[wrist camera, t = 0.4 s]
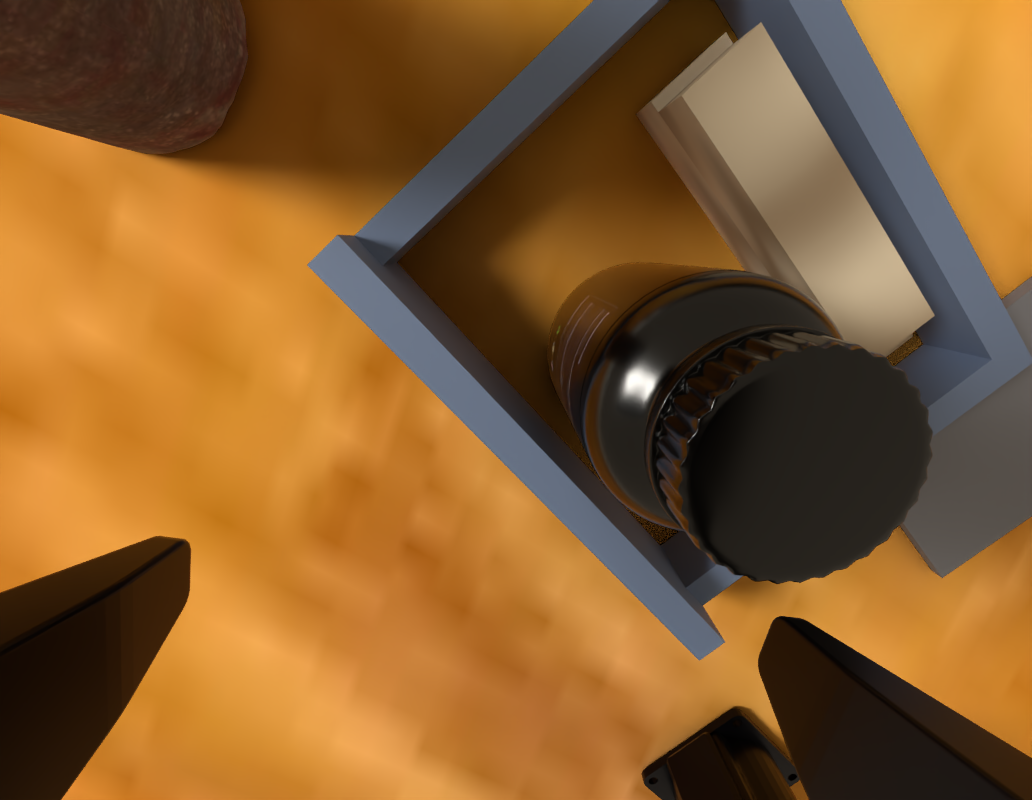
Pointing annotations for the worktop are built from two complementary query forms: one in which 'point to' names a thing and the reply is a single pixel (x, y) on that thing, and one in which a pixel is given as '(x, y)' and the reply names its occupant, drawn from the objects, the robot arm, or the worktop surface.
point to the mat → (979, 467)
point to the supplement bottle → (739, 416)
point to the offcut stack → (783, 189)
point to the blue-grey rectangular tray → (516, 425)
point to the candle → (123, 68)
